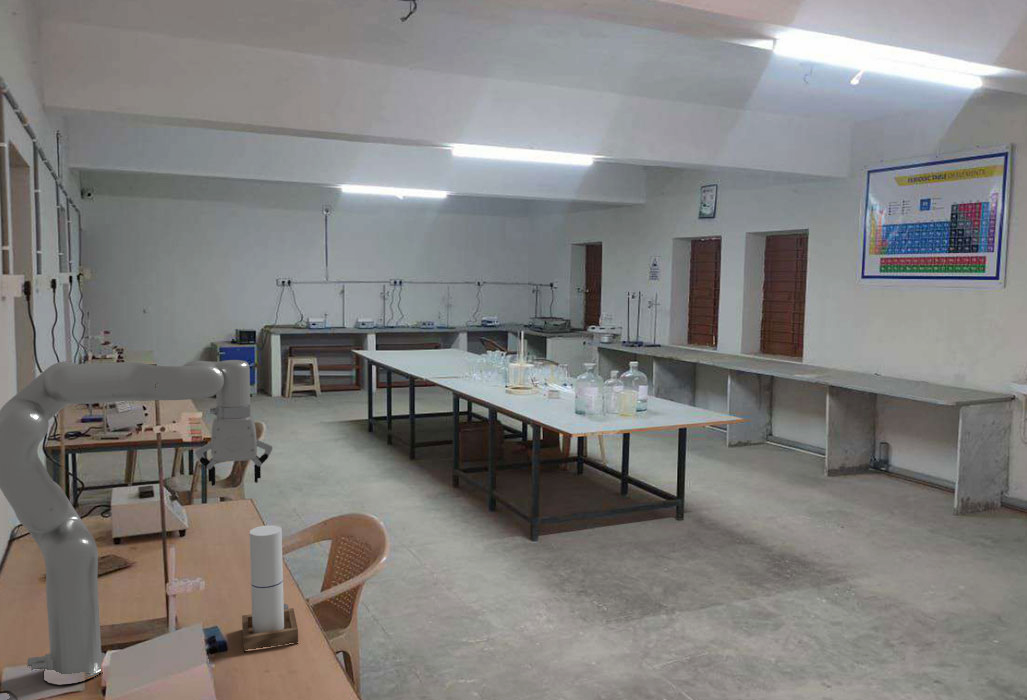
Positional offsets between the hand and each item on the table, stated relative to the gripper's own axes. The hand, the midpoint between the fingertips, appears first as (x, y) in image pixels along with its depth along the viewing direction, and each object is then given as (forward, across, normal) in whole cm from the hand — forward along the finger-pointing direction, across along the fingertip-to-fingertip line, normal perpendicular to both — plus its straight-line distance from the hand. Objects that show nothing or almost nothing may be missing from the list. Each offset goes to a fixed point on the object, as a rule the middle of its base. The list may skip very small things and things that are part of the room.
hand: (235, 482), depth 183 cm
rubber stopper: (+36, +10, +2) cm, 37 cm away
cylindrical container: (+35, +7, -8) cm, 37 cm away
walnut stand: (+36, +7, -8) cm, 37 cm away
